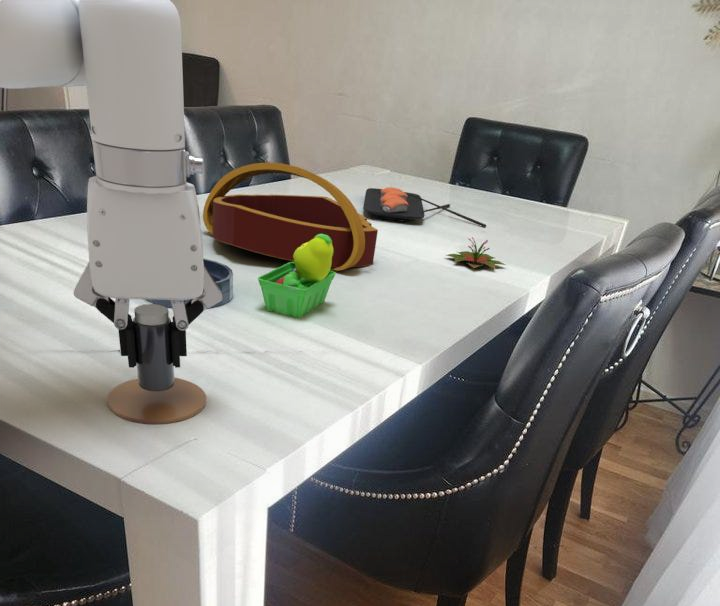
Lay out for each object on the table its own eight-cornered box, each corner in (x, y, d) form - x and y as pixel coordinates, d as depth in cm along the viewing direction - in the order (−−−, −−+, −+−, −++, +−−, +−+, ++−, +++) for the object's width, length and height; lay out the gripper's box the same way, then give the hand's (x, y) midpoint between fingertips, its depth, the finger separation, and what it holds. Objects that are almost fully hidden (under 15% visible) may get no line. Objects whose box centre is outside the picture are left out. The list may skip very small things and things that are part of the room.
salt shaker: (138, 391, 66) (131, 316, 61) (139, 376, 69) (132, 302, 64) (174, 391, 67) (170, 317, 62) (174, 376, 70) (170, 303, 65)
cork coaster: (104, 425, 64) (104, 421, 63) (110, 379, 71) (110, 376, 71) (208, 422, 66) (208, 419, 66) (203, 379, 74) (203, 376, 74)
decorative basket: (396, 273, 124) (413, 189, 118) (306, 279, 101) (321, 175, 94) (260, 234, 138) (269, 157, 132) (155, 232, 115) (158, 139, 108)
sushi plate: (365, 194, 173) (367, 179, 171) (476, 209, 174) (479, 193, 172) (361, 218, 149) (363, 201, 147) (490, 235, 150) (493, 218, 148)
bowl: (139, 312, 88) (137, 283, 86) (142, 281, 98) (140, 254, 96) (236, 314, 92) (236, 286, 89) (228, 284, 102) (228, 258, 100)
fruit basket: (290, 292, 102) (294, 217, 95) (341, 305, 99) (349, 229, 93) (254, 313, 93) (256, 232, 86) (310, 328, 90) (316, 245, 84)
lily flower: (472, 274, 122) (477, 250, 119) (432, 256, 129) (436, 232, 127) (517, 270, 128) (523, 246, 125) (476, 252, 135) (481, 230, 133)
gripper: (234, 166, 61) (233, 347, 71) (43, 151, 57) (71, 346, 67) (242, 182, 55) (240, 378, 66) (29, 167, 51) (62, 378, 61)
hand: (154, 360), depth 66 cm, fingers closed on salt shaker, 3 cm apart
